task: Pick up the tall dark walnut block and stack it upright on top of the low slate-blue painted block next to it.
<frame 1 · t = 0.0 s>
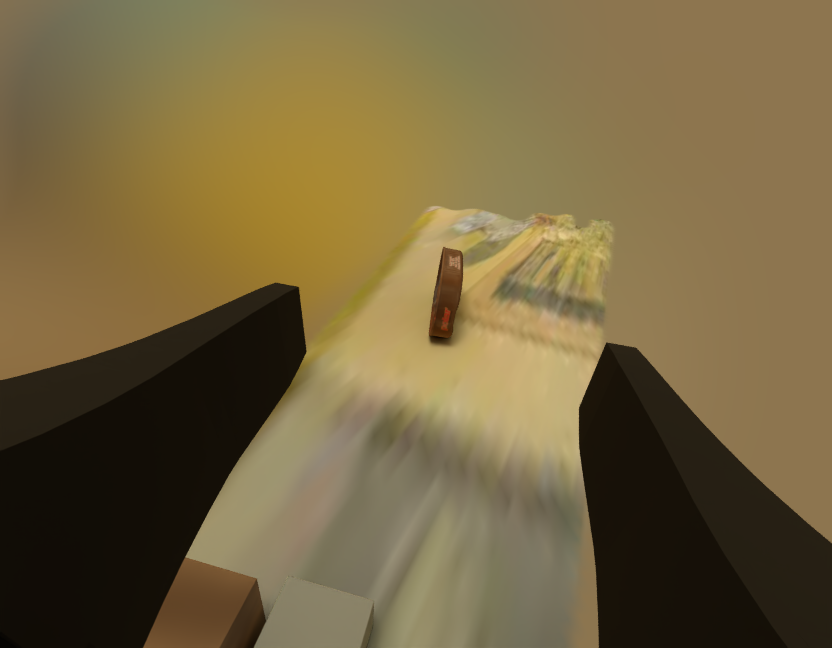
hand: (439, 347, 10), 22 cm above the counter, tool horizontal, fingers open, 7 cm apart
tin: (442, 320, 55), on the counter
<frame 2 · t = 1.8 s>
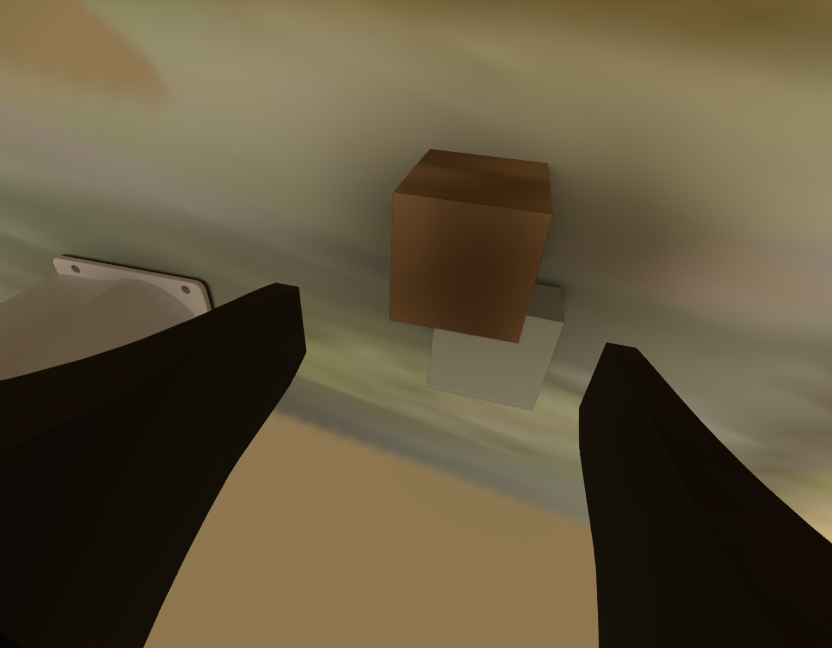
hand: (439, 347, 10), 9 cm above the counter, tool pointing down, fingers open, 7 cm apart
walnut block: (478, 212, 17), on the counter
slate block: (493, 319, 20), on the counter
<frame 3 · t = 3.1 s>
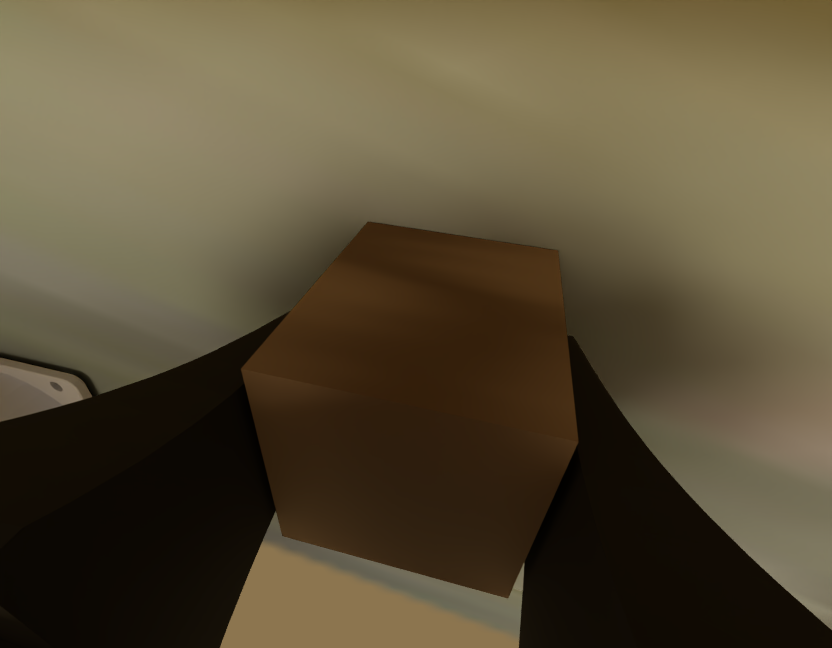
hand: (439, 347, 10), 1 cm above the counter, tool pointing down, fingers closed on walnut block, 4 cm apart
walnut block: (449, 314, 11), on the counter, touching gripper
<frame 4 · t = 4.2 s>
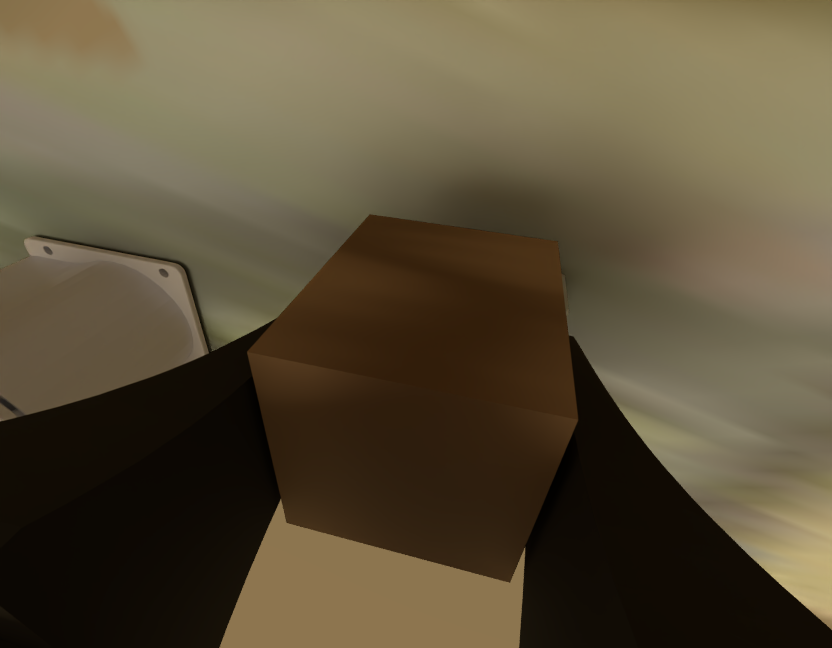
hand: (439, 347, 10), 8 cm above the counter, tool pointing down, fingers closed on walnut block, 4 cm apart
walnut block: (450, 306, 11), point 7 cm above the counter, touching gripper
when the fingers open (5 cm above the counter, at t = 5.5 s): walnut block stays where it is, resting on slate block.
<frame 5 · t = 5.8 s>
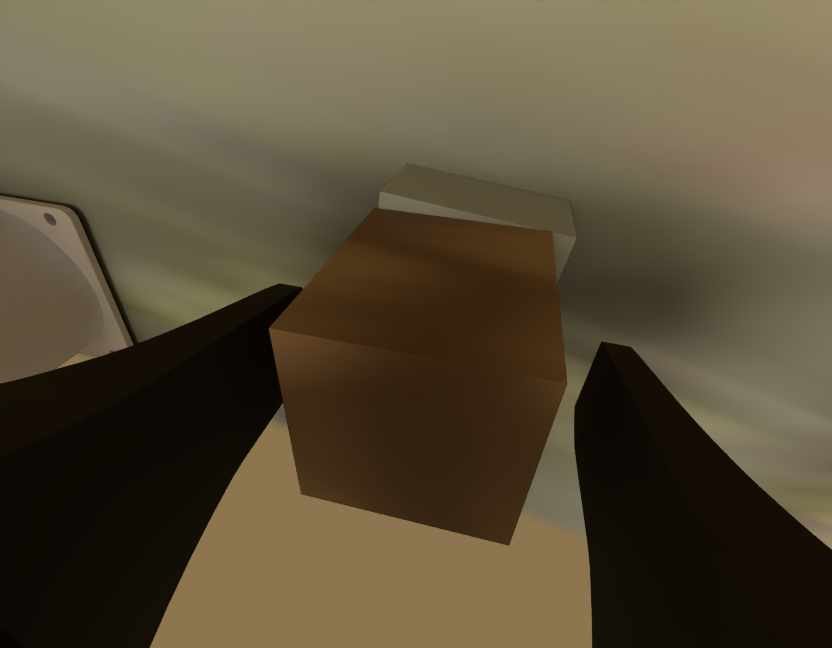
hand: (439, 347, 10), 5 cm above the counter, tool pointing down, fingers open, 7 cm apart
walnut block: (451, 295, 12), point 3 cm above the counter, touching slate block
slate block: (468, 252, 14), on the counter, touching walnut block
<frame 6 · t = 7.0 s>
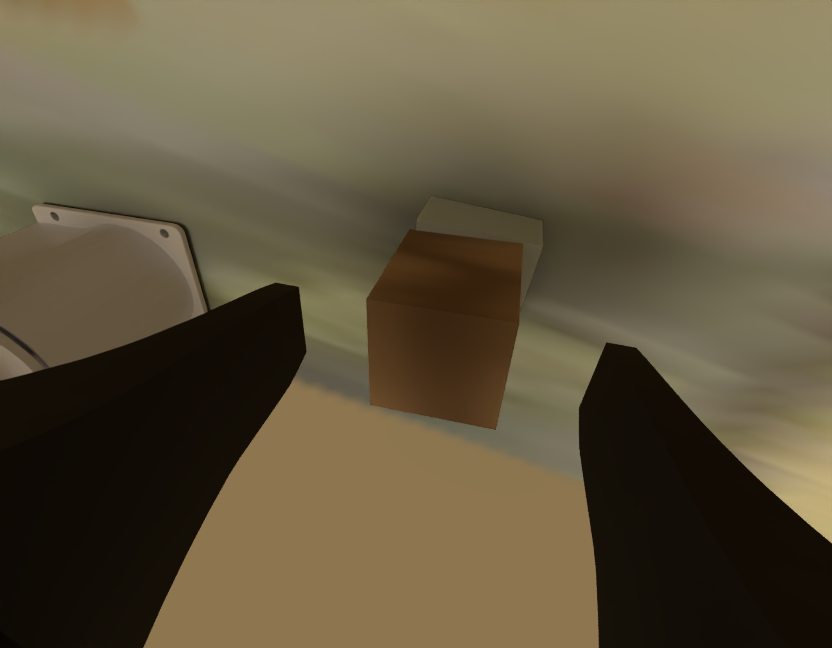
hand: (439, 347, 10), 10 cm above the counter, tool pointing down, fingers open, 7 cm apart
walnut block: (459, 285, 18), point 3 cm above the counter, touching slate block
slate block: (473, 255, 20), on the counter, touching walnut block
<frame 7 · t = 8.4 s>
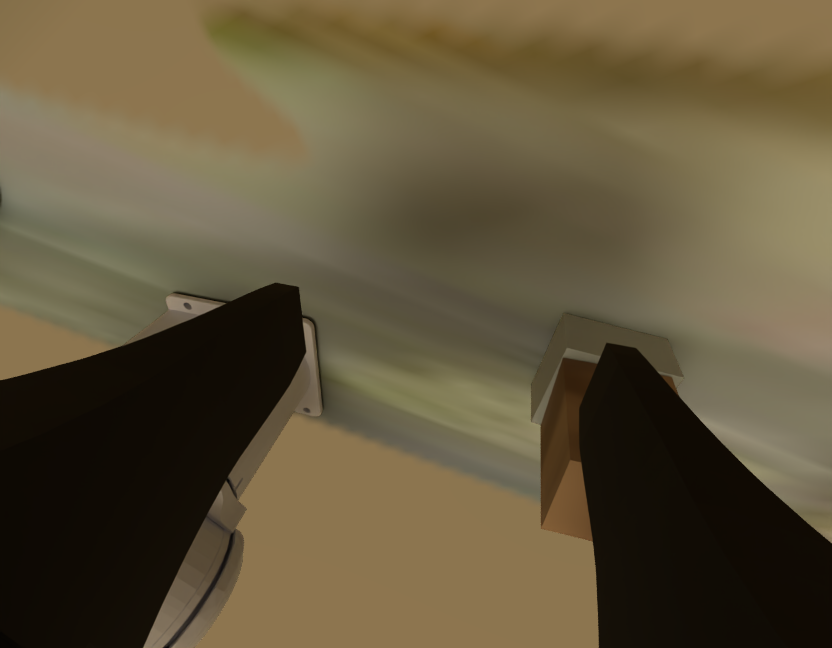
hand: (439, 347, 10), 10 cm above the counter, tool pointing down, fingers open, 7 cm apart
walnut block: (600, 403, 19), point 3 cm above the counter
slate block: (593, 361, 22), on the counter
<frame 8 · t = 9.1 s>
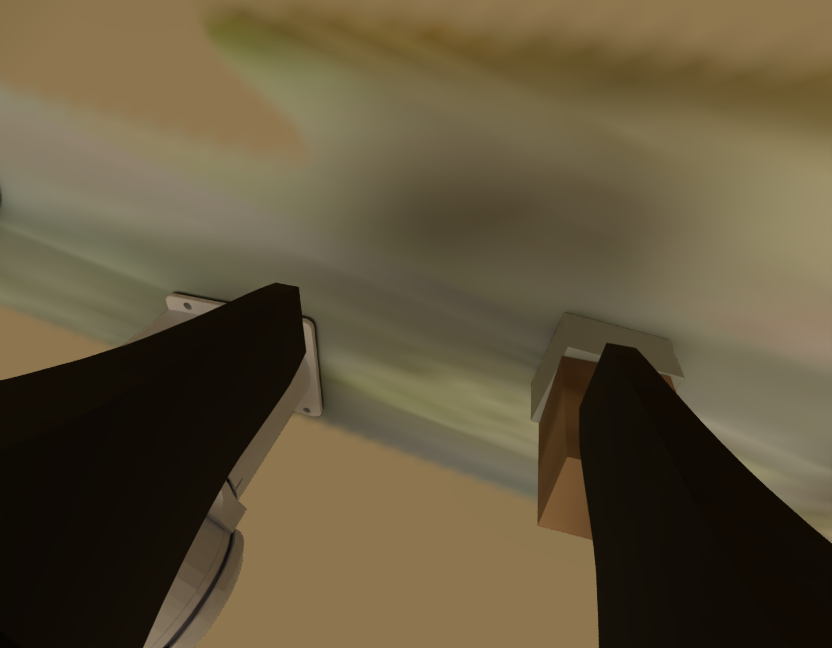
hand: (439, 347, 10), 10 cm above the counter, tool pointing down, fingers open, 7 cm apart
walnut block: (598, 401, 19), point 3 cm above the counter, touching slate block
slate block: (594, 360, 22), on the counter, touching walnut block
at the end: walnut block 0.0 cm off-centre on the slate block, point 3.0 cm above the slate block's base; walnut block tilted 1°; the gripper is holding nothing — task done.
